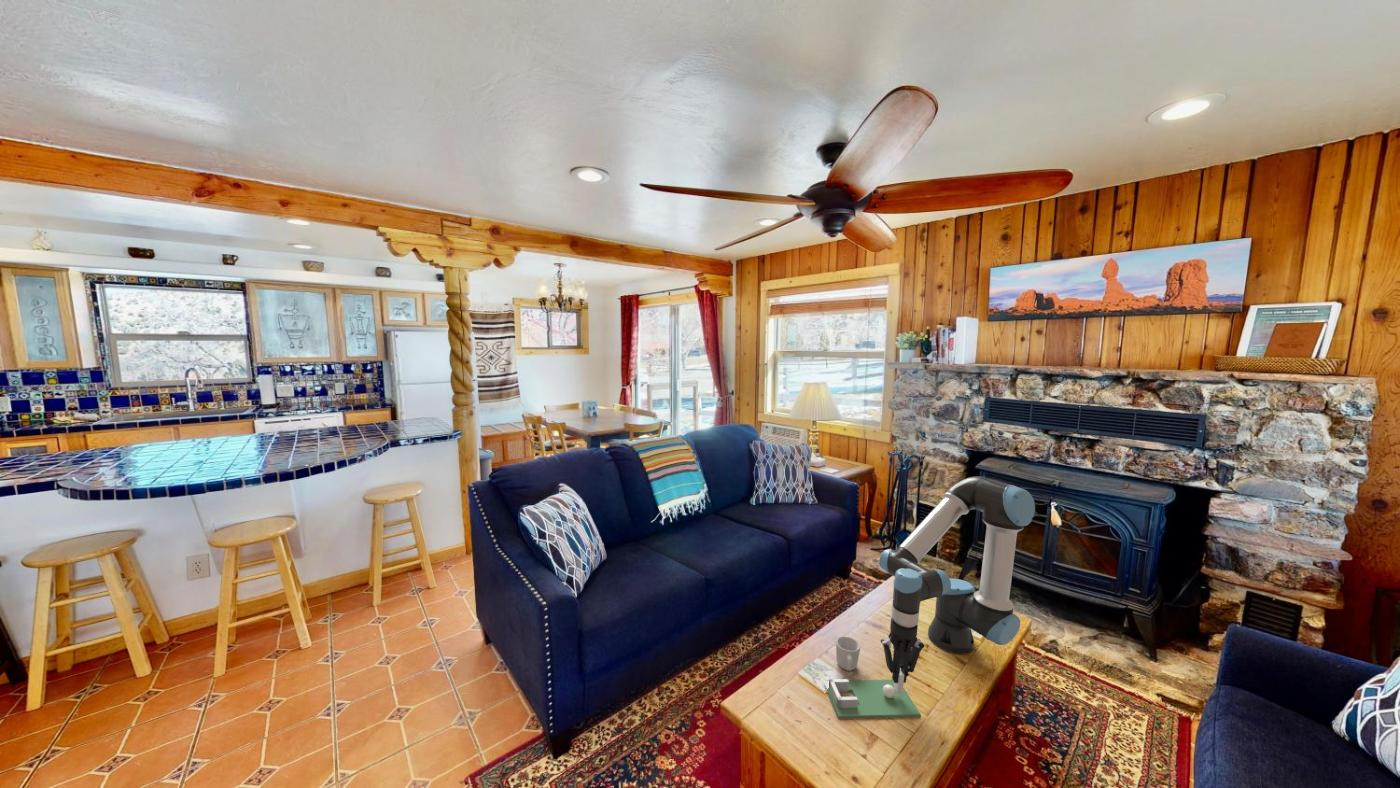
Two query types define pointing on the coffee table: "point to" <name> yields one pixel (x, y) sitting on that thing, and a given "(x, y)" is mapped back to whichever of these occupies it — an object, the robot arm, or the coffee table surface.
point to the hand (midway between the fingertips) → (898, 691)
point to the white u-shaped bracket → (843, 685)
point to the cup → (847, 652)
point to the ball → (888, 691)
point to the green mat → (876, 701)
